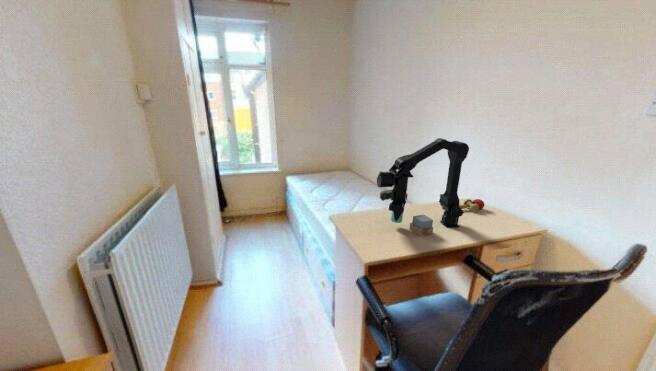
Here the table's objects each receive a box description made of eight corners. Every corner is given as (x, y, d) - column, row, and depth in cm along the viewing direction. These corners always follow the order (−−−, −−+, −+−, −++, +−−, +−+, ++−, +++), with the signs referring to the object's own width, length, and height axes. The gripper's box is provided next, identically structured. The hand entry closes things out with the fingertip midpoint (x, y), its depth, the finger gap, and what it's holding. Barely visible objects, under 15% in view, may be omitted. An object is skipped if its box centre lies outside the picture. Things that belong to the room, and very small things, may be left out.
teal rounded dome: (399, 217, 120) (400, 209, 119) (403, 222, 116) (404, 213, 114) (389, 218, 120) (390, 209, 118) (393, 223, 115) (394, 214, 114)
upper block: (422, 221, 118) (423, 214, 117) (431, 227, 113) (433, 219, 112) (412, 223, 116) (413, 216, 115) (421, 229, 111) (422, 222, 110)
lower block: (421, 227, 120) (422, 220, 118) (432, 234, 113) (433, 227, 112) (409, 229, 117) (410, 222, 116) (419, 237, 111) (420, 230, 110)
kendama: (457, 216, 134) (488, 210, 136) (457, 205, 133) (488, 199, 135) (448, 212, 142) (478, 207, 144) (448, 202, 141) (477, 196, 143)
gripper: (385, 178, 123) (382, 207, 128) (378, 190, 107) (375, 223, 112) (409, 181, 119) (405, 211, 125) (405, 194, 103) (401, 228, 108)
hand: (396, 218), depth 117 cm, fingers closed on teal rounded dome, 5 cm apart
